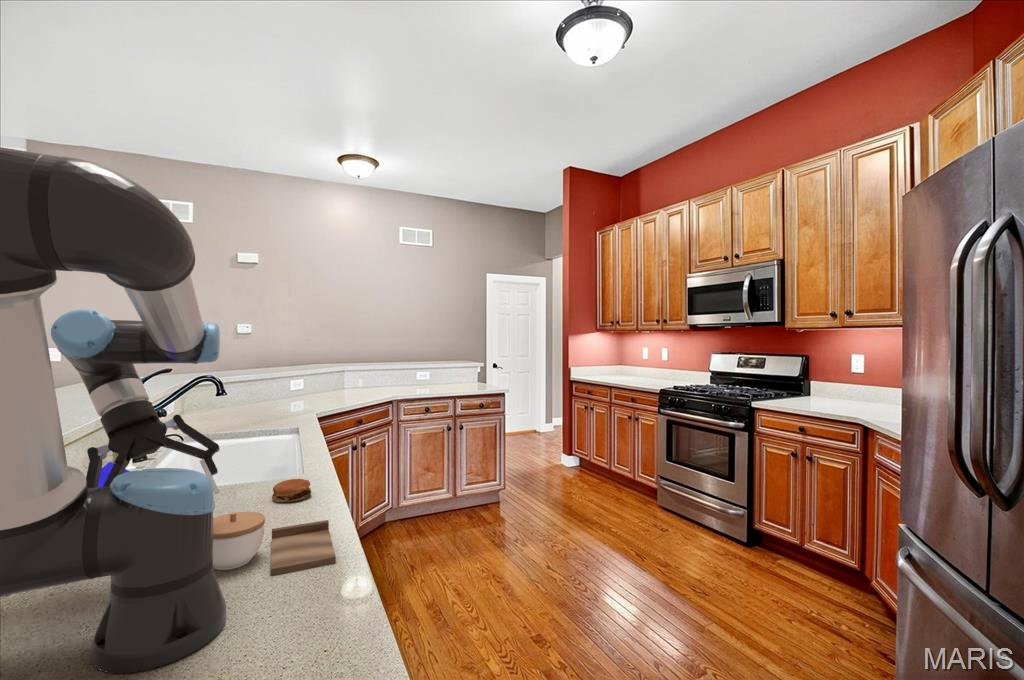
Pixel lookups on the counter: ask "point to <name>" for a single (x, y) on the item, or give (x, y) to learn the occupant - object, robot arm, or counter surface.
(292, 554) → the walnut board
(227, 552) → the lidded jar
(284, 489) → the burger
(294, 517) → the counter surface
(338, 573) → the counter surface
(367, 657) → the counter surface
